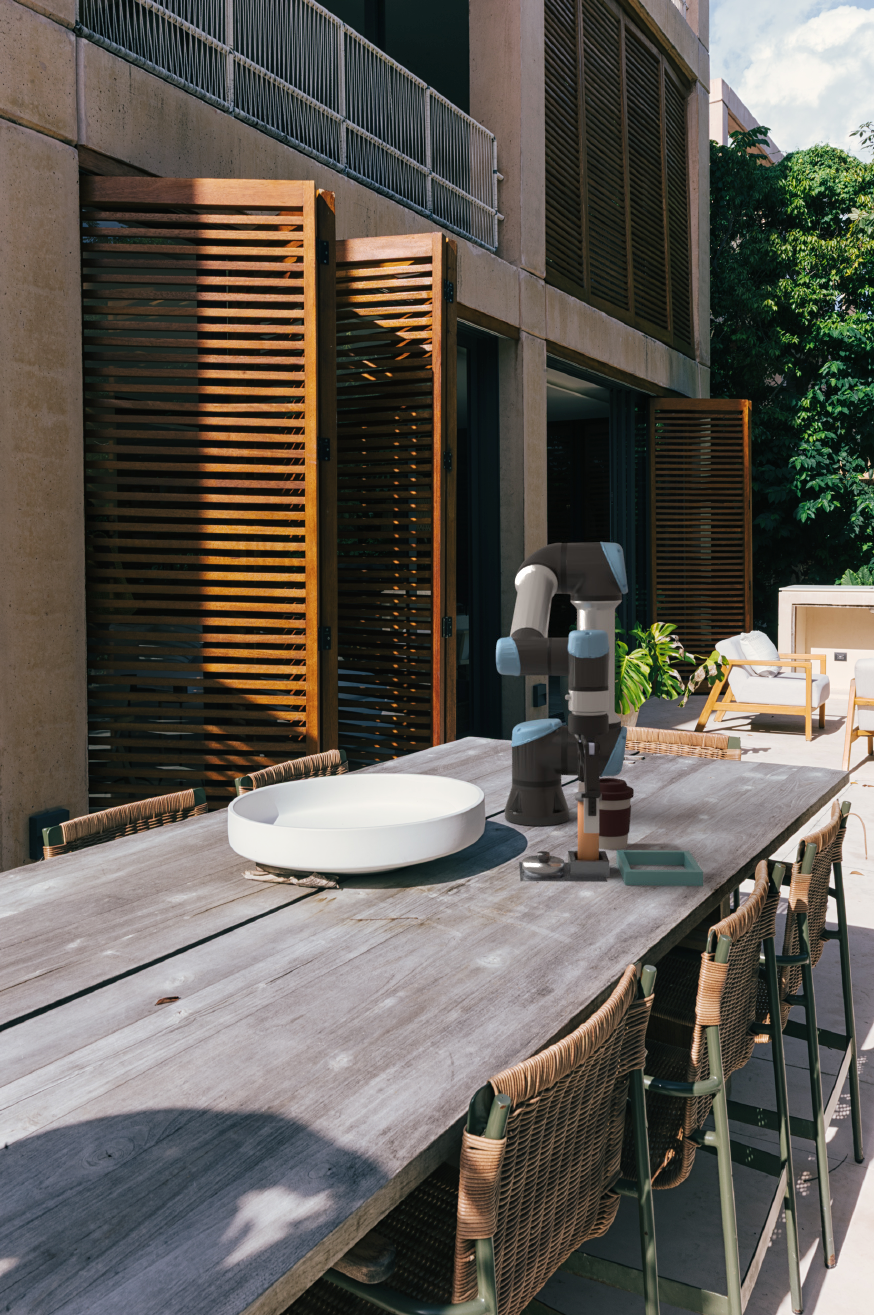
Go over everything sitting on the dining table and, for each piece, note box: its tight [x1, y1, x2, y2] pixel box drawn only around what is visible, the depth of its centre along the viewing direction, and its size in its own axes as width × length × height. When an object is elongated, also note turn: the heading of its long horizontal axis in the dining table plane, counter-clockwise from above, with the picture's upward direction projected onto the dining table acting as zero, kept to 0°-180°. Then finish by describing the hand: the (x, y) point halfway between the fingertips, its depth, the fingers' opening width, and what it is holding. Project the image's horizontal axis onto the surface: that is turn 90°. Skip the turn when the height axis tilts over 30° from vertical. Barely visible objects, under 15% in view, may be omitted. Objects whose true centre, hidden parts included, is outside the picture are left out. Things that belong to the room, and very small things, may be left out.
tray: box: [615, 849, 704, 887], centre depth 192 cm, size 14×14×4 cm
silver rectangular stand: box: [518, 850, 610, 883], centre depth 194 cm, size 12×17×5 cm
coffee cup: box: [599, 777, 635, 851], centre depth 212 cm, size 10×10×15 cm
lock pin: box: [574, 791, 602, 860], centre depth 193 cm, size 5×5×15 cm
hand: (588, 823), depth 193 cm, fingers open, 13 cm apart
